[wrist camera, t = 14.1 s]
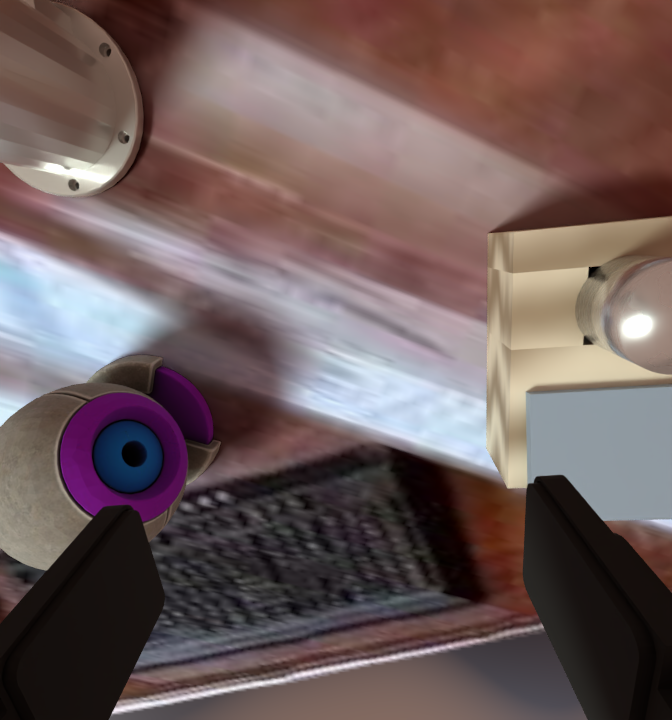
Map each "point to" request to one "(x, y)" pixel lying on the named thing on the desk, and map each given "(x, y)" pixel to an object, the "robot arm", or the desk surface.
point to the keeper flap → (606, 446)
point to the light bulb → (630, 310)
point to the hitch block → (551, 323)
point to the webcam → (100, 455)
